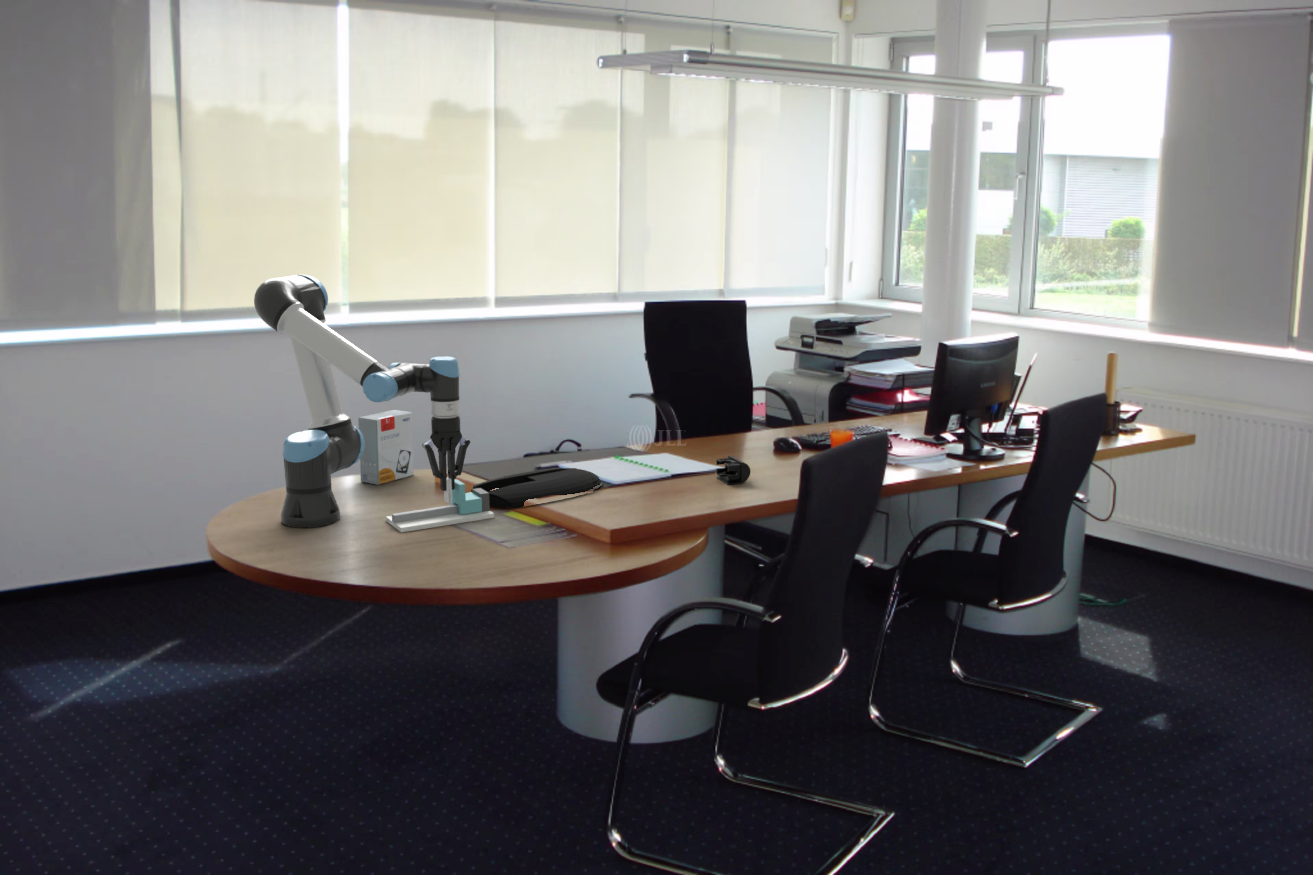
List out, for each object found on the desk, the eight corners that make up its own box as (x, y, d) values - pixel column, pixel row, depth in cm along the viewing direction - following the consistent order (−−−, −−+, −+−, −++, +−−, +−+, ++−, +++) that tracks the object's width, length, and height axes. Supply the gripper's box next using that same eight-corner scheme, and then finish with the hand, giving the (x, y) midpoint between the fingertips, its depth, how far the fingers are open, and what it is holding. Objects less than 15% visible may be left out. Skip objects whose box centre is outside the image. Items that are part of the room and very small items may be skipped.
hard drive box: (378, 486, 352) (375, 420, 347) (360, 482, 356) (356, 417, 351) (415, 474, 365) (412, 411, 360) (396, 471, 369) (393, 408, 364)
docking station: (620, 490, 349) (620, 473, 348) (502, 514, 325) (501, 496, 324) (573, 473, 368) (572, 457, 367) (457, 495, 344) (456, 478, 343)
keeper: (461, 514, 317) (460, 485, 315) (451, 508, 323) (450, 479, 321) (482, 511, 320) (481, 482, 318) (471, 505, 326) (470, 476, 324)
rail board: (401, 532, 307) (400, 509, 305) (386, 520, 317) (384, 498, 315) (494, 517, 320) (493, 495, 318) (476, 507, 330) (476, 485, 328)
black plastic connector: (750, 483, 355) (751, 461, 354) (728, 485, 353) (729, 463, 351) (736, 476, 364) (737, 454, 363) (715, 478, 362) (715, 456, 360)
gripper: (427, 420, 307) (430, 508, 312) (473, 415, 313) (475, 502, 318) (417, 415, 313) (420, 501, 318) (462, 411, 320) (465, 495, 325)
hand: (448, 501), depth 318 cm, fingers closed
